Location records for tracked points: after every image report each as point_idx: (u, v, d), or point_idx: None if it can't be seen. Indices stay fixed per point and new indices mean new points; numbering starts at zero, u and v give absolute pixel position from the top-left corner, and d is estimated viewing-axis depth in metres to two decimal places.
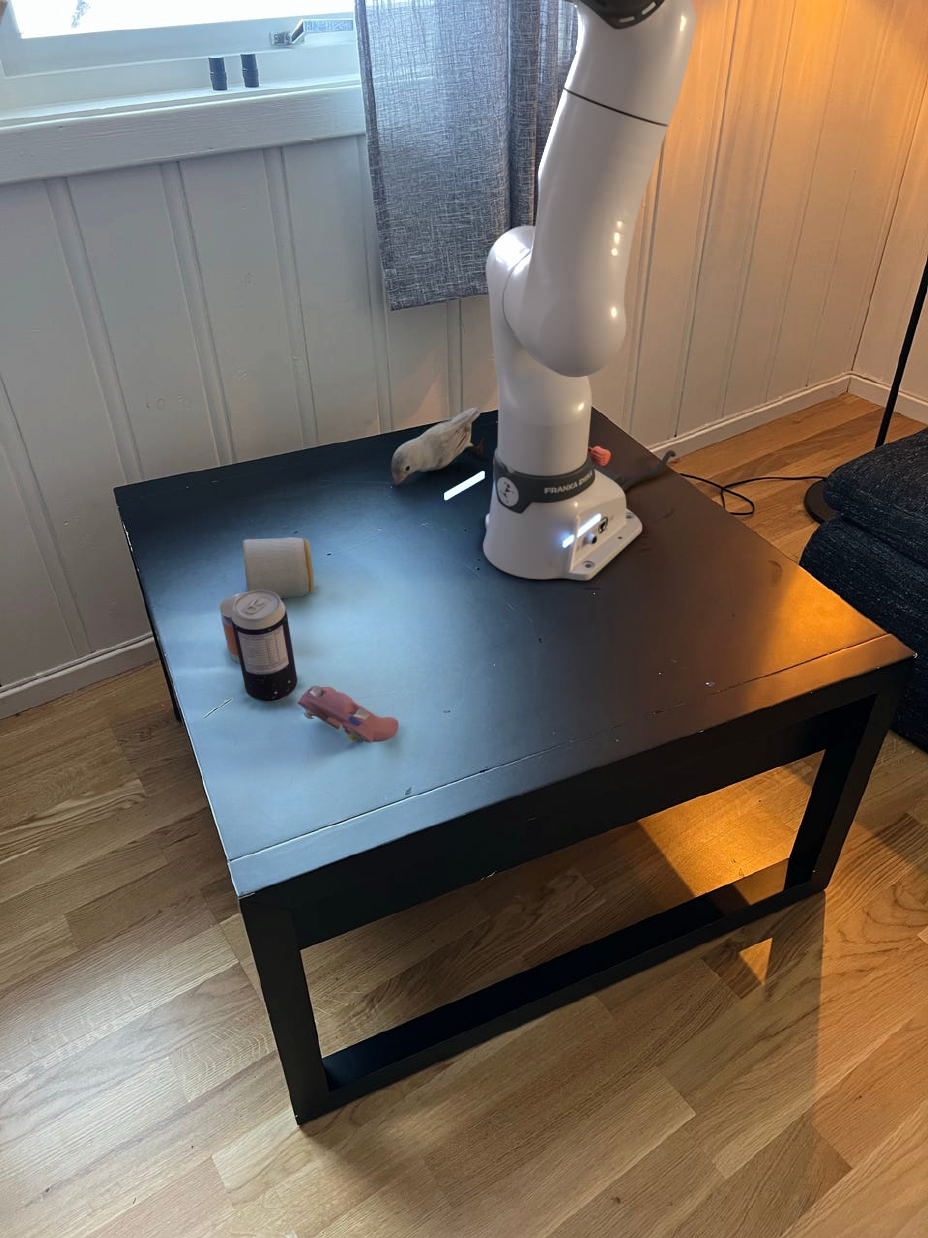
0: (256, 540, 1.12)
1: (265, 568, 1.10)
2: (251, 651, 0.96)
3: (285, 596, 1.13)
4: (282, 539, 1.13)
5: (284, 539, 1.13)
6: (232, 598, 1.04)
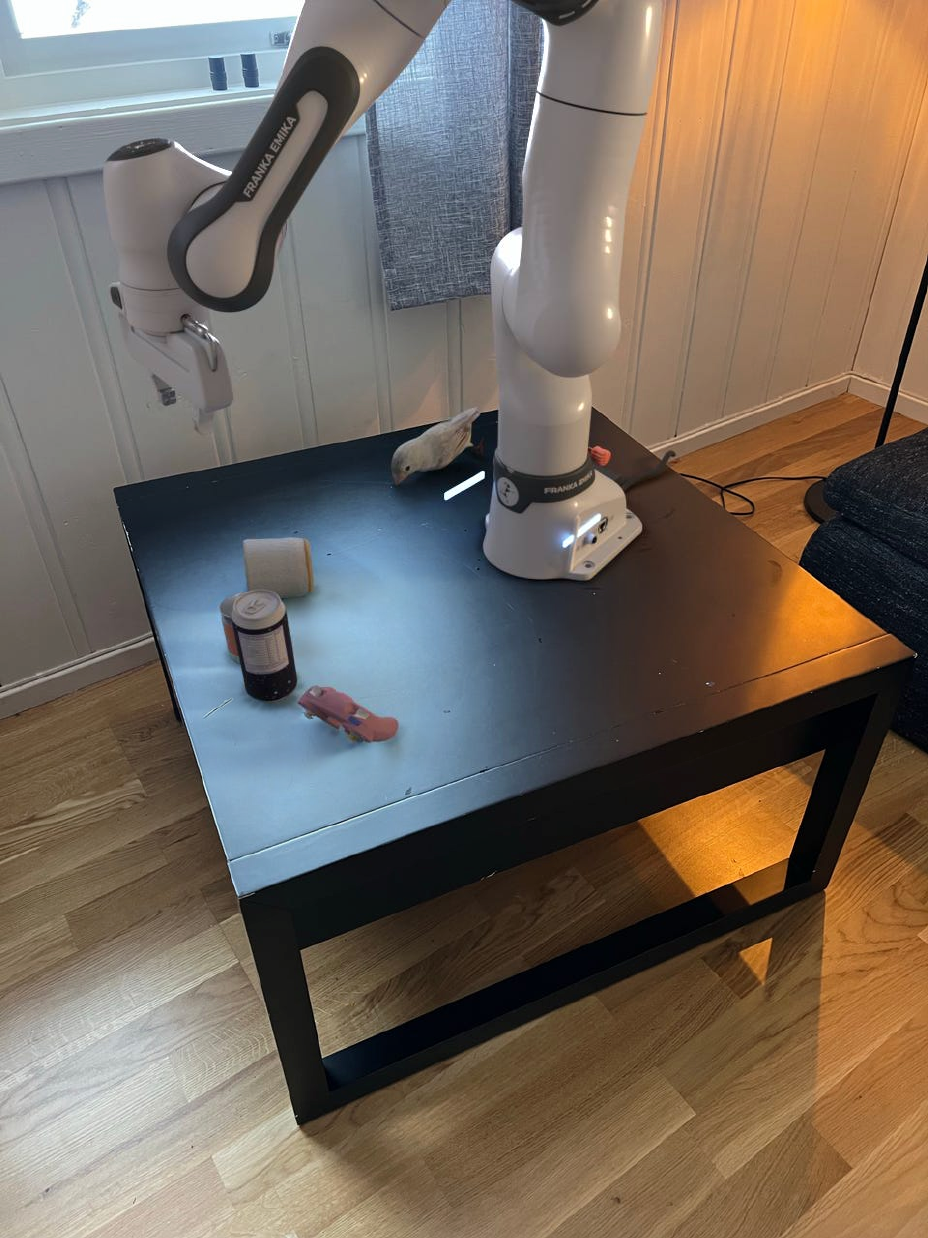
0: (256, 540, 1.12)
1: (265, 568, 1.10)
2: (251, 651, 0.96)
3: (285, 596, 1.13)
4: (282, 539, 1.13)
5: (284, 539, 1.13)
6: (232, 598, 1.04)
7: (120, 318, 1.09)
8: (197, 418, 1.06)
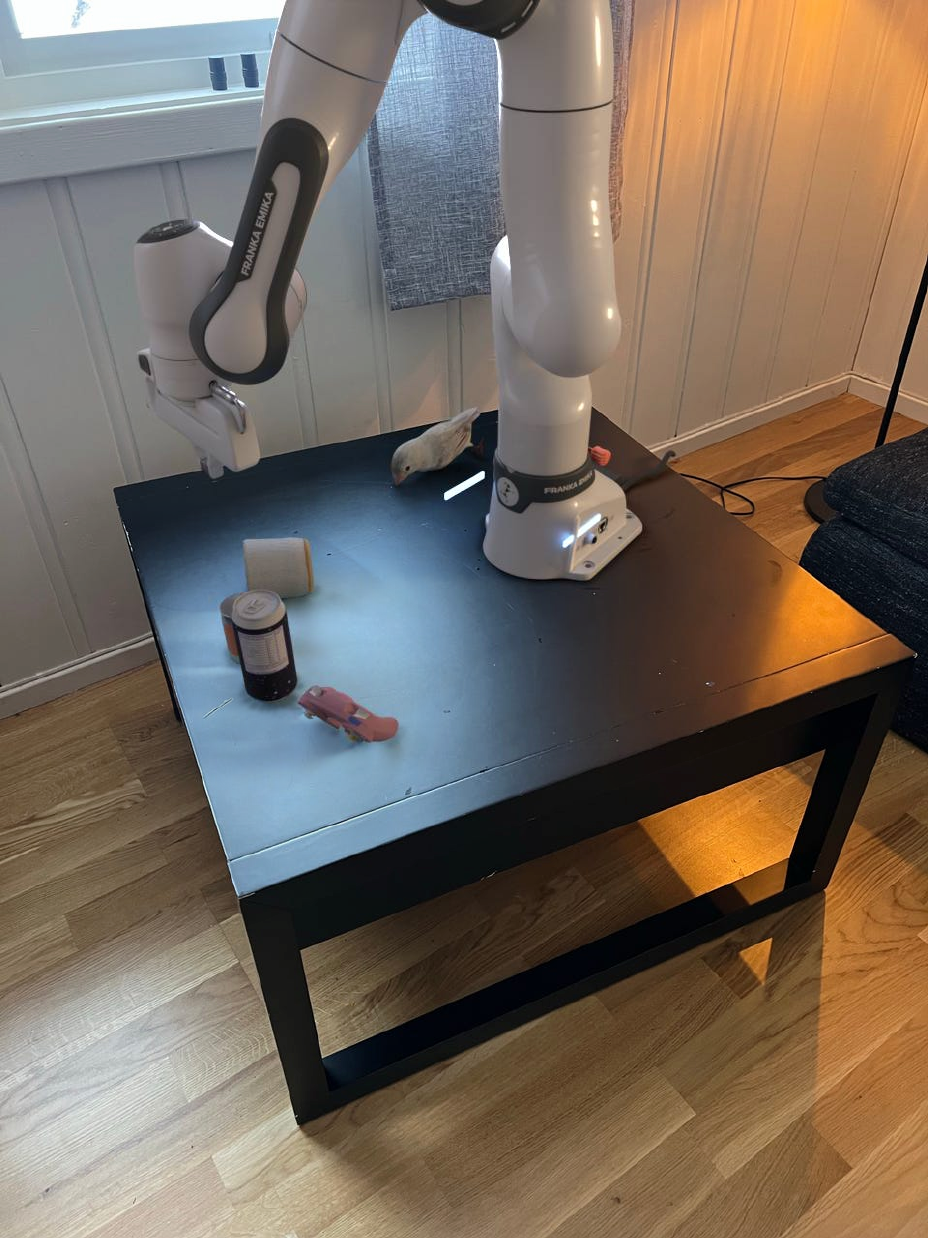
0: (256, 540, 1.12)
1: (265, 568, 1.10)
2: (251, 651, 0.96)
3: (285, 596, 1.13)
4: (282, 539, 1.13)
5: (284, 539, 1.13)
6: (232, 598, 1.04)
7: (147, 382, 1.15)
8: (208, 463, 1.14)
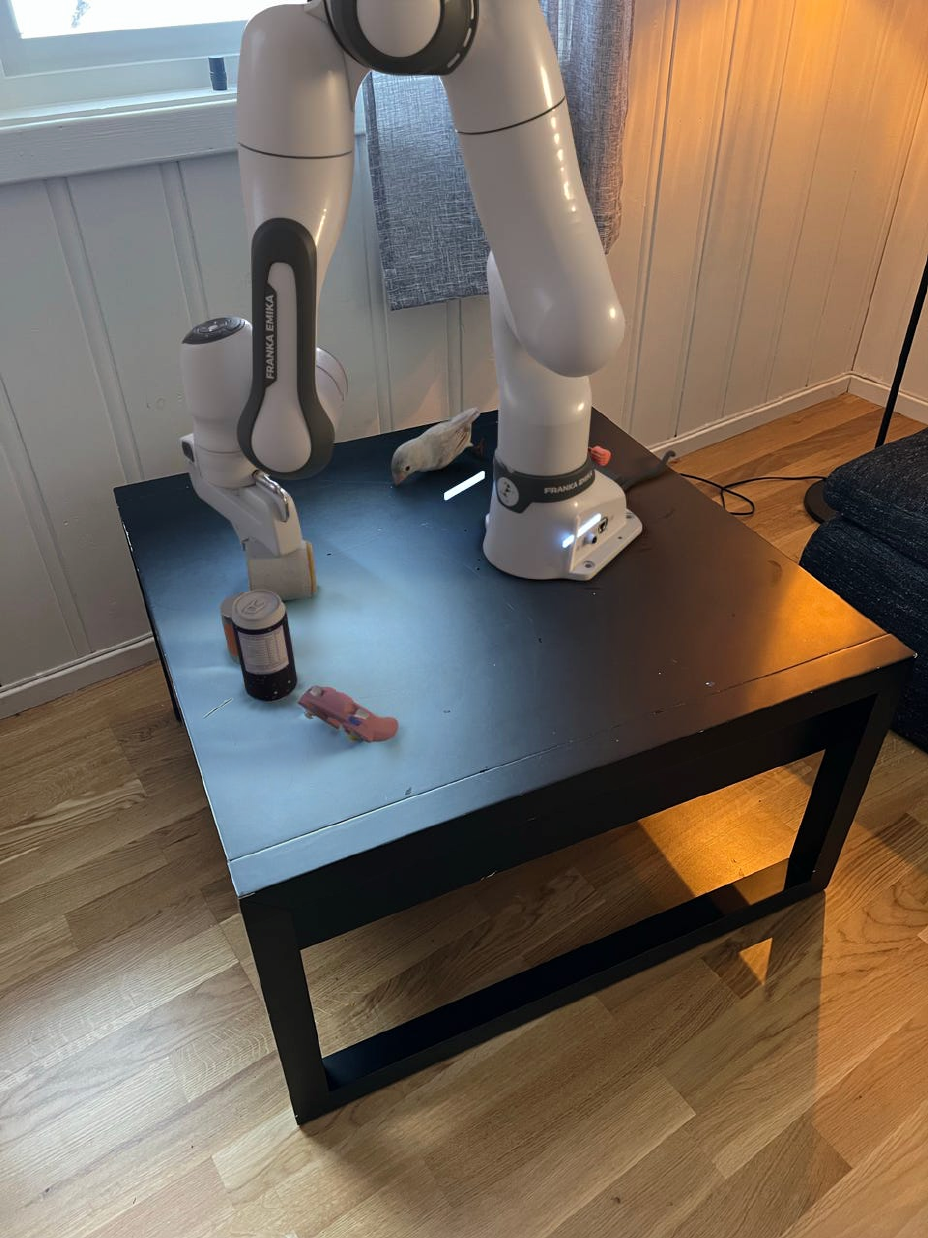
0: None
1: (268, 570, 1.10)
2: (251, 651, 0.96)
3: (288, 598, 1.13)
4: None
5: None
6: (232, 598, 1.04)
7: (189, 466, 1.17)
8: None
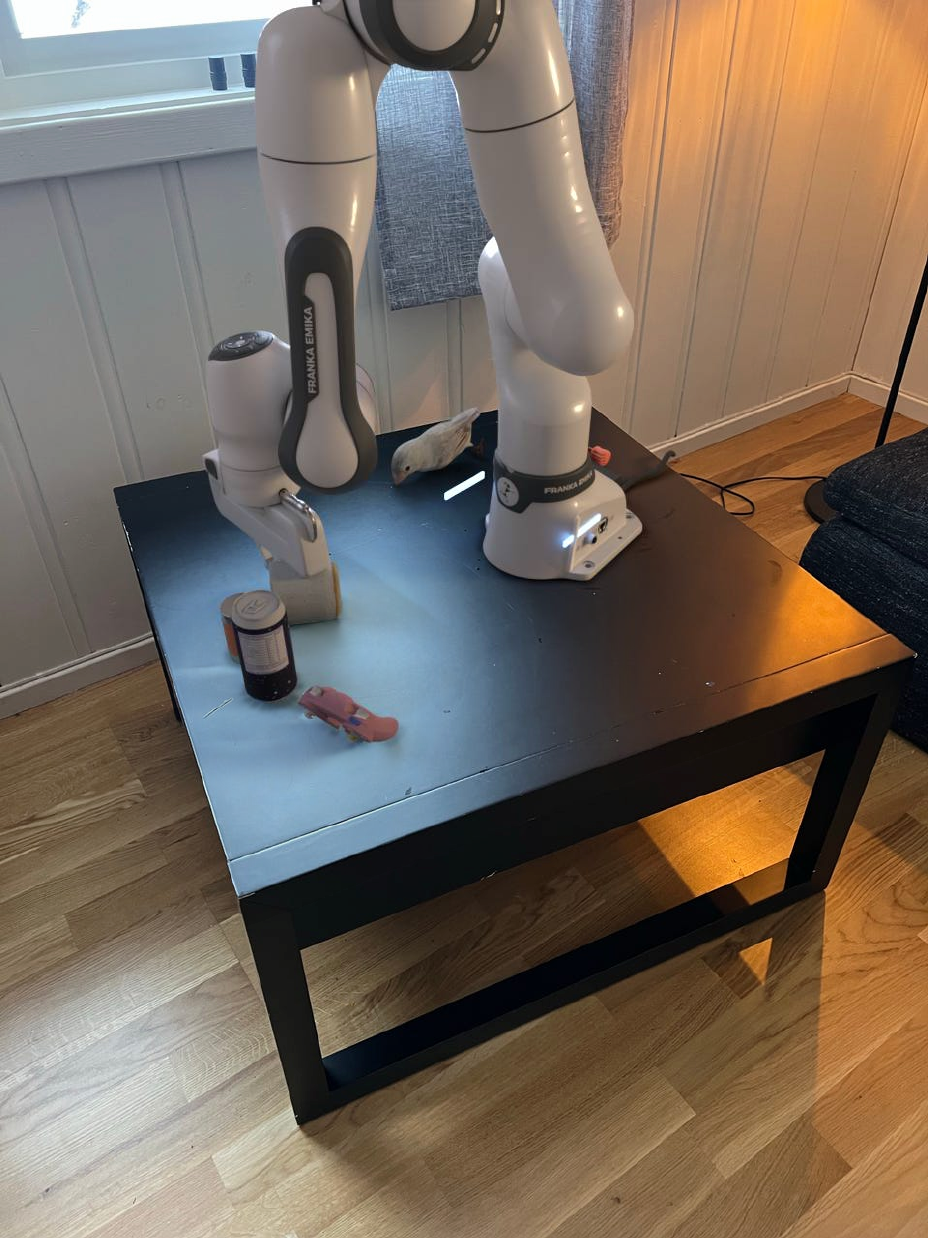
0: (283, 562, 1.09)
1: (291, 592, 1.06)
2: (251, 651, 0.96)
3: (311, 621, 1.10)
4: None
5: None
6: (232, 598, 1.04)
7: (212, 482, 1.13)
8: None
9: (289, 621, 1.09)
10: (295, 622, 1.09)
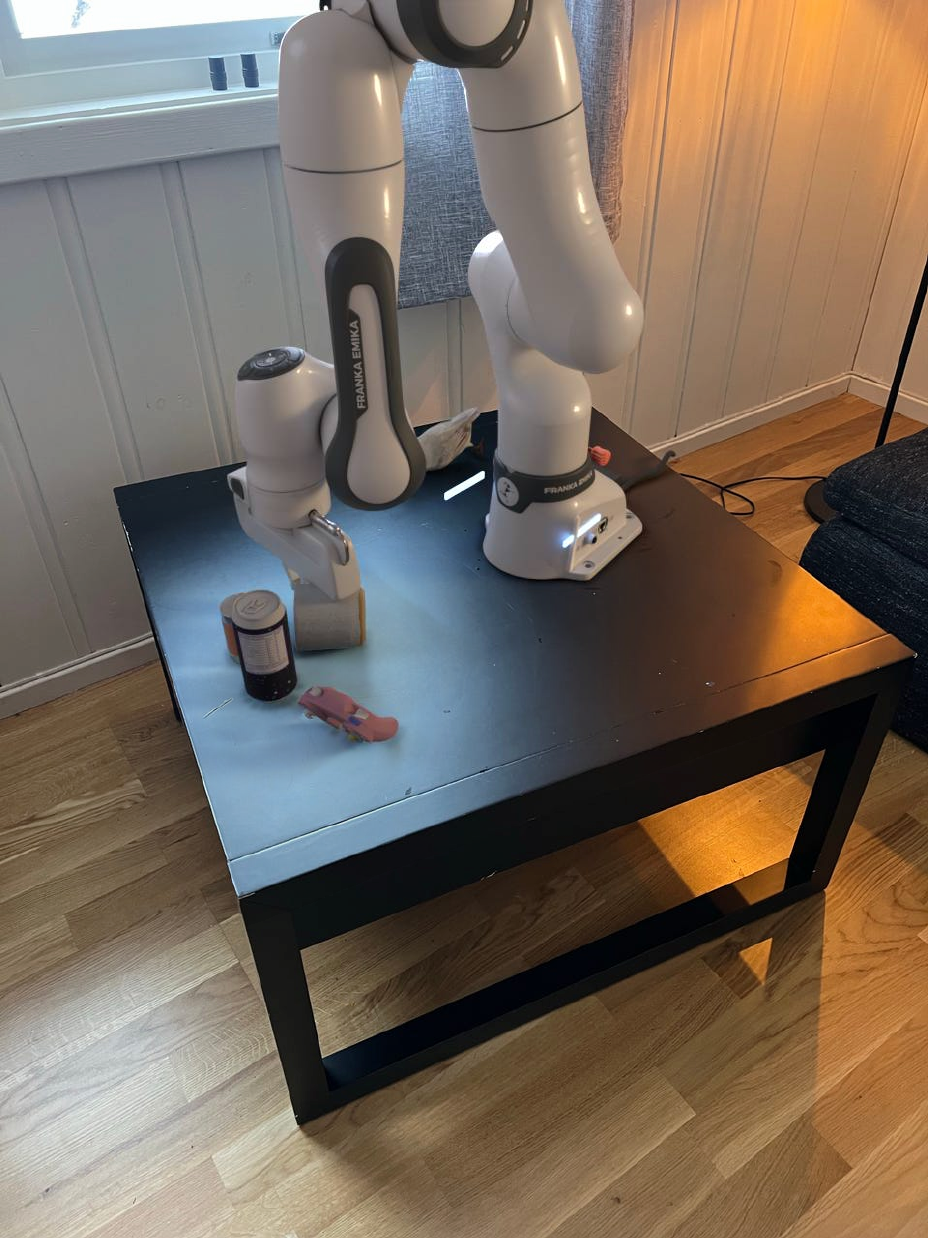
0: (308, 586, 1.05)
1: (315, 618, 1.03)
2: (251, 651, 0.96)
3: (335, 647, 1.06)
4: None
5: None
6: (232, 598, 1.04)
7: (237, 502, 1.10)
8: None
9: (312, 647, 1.05)
10: (317, 648, 1.05)
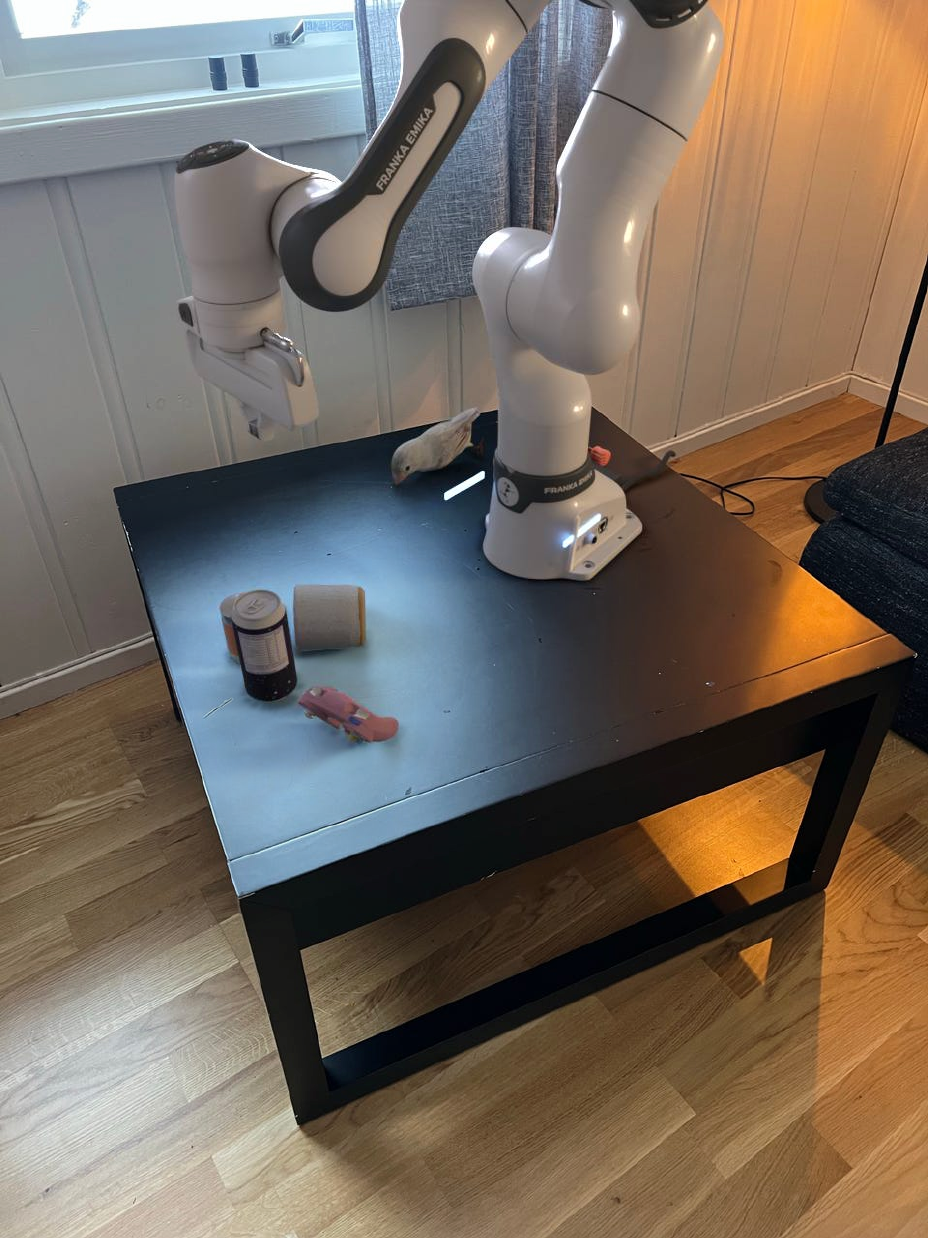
0: (308, 586, 1.05)
1: (315, 618, 1.03)
2: (251, 651, 0.96)
3: (335, 647, 1.06)
4: (336, 586, 1.05)
5: (338, 587, 1.05)
6: (232, 598, 1.04)
7: (188, 336, 1.03)
8: (258, 424, 1.03)
9: (312, 647, 1.05)
10: (317, 648, 1.05)
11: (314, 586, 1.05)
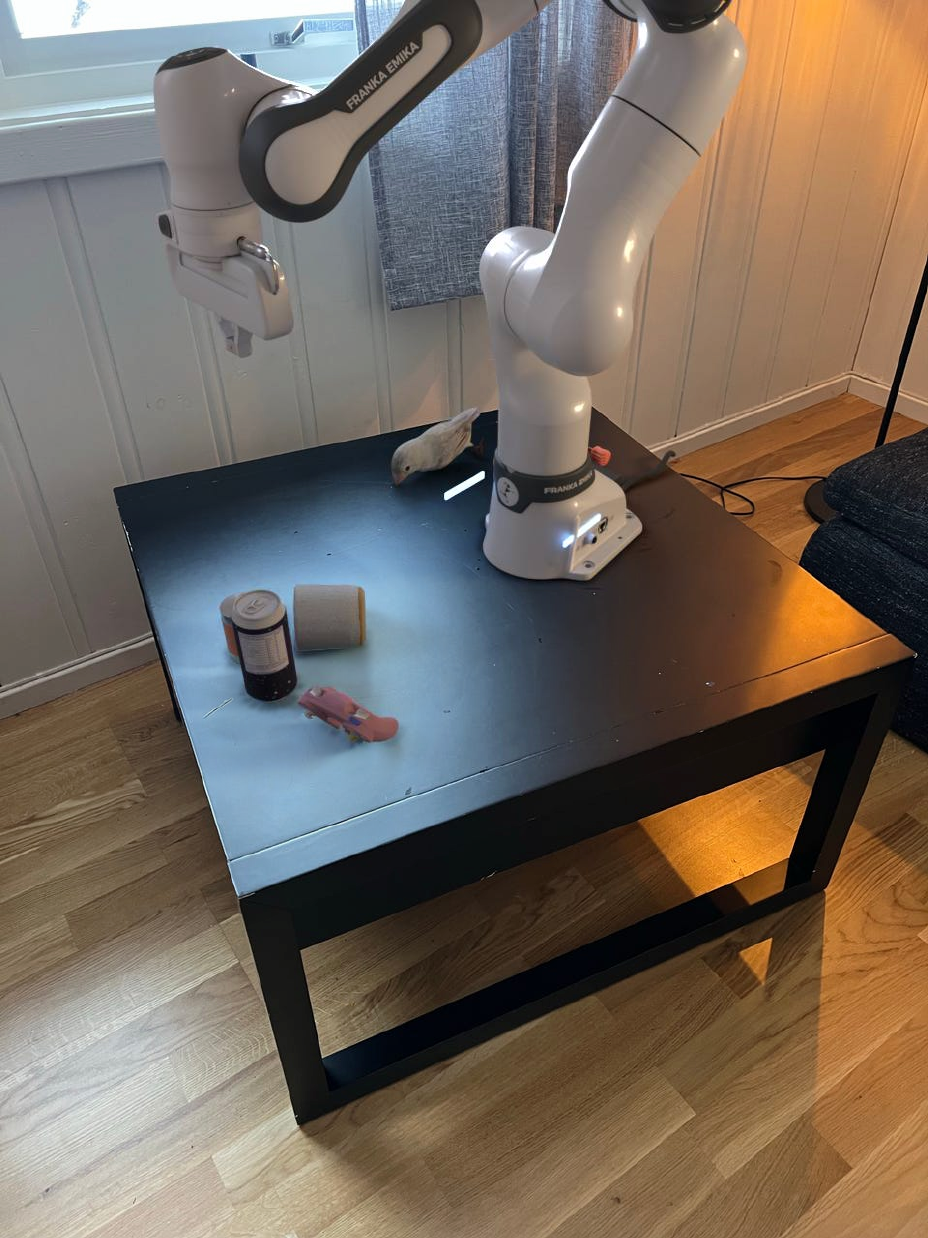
0: (308, 586, 1.05)
1: (315, 618, 1.03)
2: (251, 651, 0.96)
3: (335, 647, 1.06)
4: (336, 586, 1.05)
5: (338, 587, 1.05)
6: (232, 598, 1.04)
7: (168, 251, 1.04)
8: (235, 339, 1.04)
9: (312, 647, 1.05)
10: (317, 648, 1.05)
11: (314, 586, 1.05)
